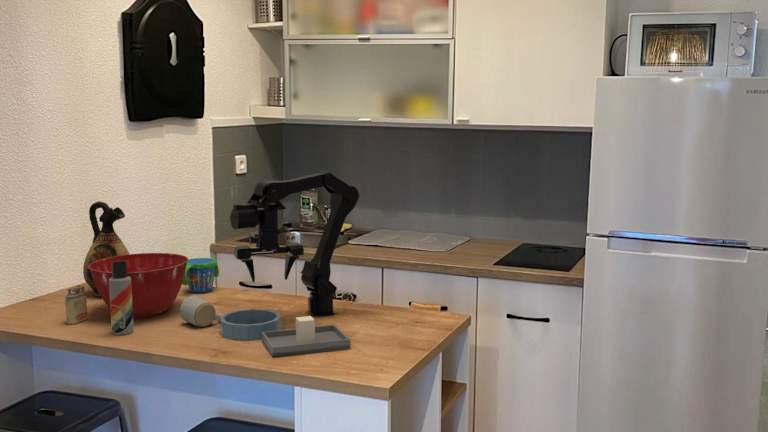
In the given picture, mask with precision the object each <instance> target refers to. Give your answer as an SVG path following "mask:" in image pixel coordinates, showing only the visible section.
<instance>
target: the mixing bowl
mask: <svg viewBox="0 0 768 432" xmlns="http://www.w3.org/2000/svg"><path fill="white" fill-rule="evenodd" d="M188 259H189V258H188V256H186V255H182V254H177V253H170V252H169V253H168V252H145V253H144V252H141V253H129V254H128V255H120V256H113V257H108V258H104V259H100V260H97V261H94V262H92V263H90V264H89V265H88V268H89V269H90V272H91V275H92V278H93V280H94V283H95V285H96V288H97V290H98V292H99V294H100V295H101V297H100V298H101V299H102V301H103V302H104V305H106V307H107V308H108V309H109V310H110V291H109V279H110V278H112V262H118V261H126V262H127V276H129V277H131V287H132V307H133V319H134V318H135V319H138V318H139V319H141V318H149V317H153V316H158V315H160V314H163V313H164V312H166V310H168V309H169V308H170V307H171V306H172V305H174V303H175V301H176V300H177V297H178V295H179V293H180V290H181V287H182V285H183V284H182V282H183V279H184V275H185V270H186V265H187V261H188Z"/></svg>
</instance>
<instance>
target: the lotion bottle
mask: <svg viewBox="0 0 768 432" xmlns="http://www.w3.org/2000/svg"><path fill="white" fill-rule="evenodd" d="M109 291H110V309H109V310H110V324H111V333H112V334H113V335H116V336H123V335H124V336H125V335H130V334H132V333H133V332H134V318H133V307H132V287H131V277H129V276H127V262H126V261H118V262H112V278H110V279H109Z"/></svg>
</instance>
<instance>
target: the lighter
mask: <svg viewBox="0 0 768 432" xmlns="http://www.w3.org/2000/svg"><path fill="white" fill-rule="evenodd" d="M67 293H68V294H65V303H64V304H65V314H66V315H65V318H66V319H65V320H66V324H68V325H75V324H76V325H77V324H79V323H81V322H83V321H86V320H88V307H87V306H88V305H87V294H86V291H85V286H84V285H82V286H81V285H80V284H78V285H76V286H74V287H73V288H71V287H70V288H68V289H67Z"/></svg>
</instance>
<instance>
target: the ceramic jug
mask: <svg viewBox="0 0 768 432" xmlns="http://www.w3.org/2000/svg"><path fill="white" fill-rule="evenodd" d="M98 209H102V211H103V212H102V214H100V216H99V221H98V218H97V213H96V212H97V210H98ZM88 213H89V221H90V224H91V226H92V230H93V234H94V235H93V239H92V243H91V246H90V248H89V250H88V251H87V254H86V256H85V258H84V262H83V272H82V273H83V279H84V281H85V283H86V284H87V285H88V286H89V288H91V289H92V291H93V292H92V294H93V295H95V296H96V297H100V298H102V297H101V295H100V294H99V292H98V290H97V288H96V285H95V283H94V280H93V278H92V275H91V272H90V269H89V268H88V265H89V264H90V263H92V262H94V261H97V260H100V259H104V258H108V257H113V256H120V255H128V254H130V251H129V250H128V248H127V247H126V245H125V244H124V242H123V240H122V239H121V238H120V236H118V233H116V231H115V229H114V223H115V222H116V221H119V220H121V219H124V218H125V217H126V215H125V213H124V211H123V210H122V209H121V208H120V207H119V206H117V207H115V208H113V207H110V206H109V205H108V203H107V202H106V203H105V202H103V201H101V200H98V201H95V202H93V203H92V204H91V205H90V207H89V210H88ZM99 222H100V223H102V225H101V228H100V225H99Z"/></svg>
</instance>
